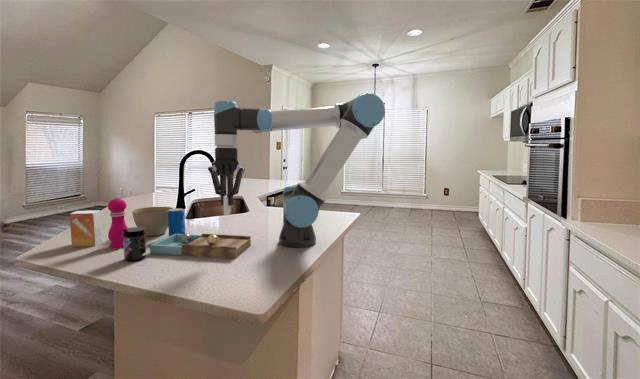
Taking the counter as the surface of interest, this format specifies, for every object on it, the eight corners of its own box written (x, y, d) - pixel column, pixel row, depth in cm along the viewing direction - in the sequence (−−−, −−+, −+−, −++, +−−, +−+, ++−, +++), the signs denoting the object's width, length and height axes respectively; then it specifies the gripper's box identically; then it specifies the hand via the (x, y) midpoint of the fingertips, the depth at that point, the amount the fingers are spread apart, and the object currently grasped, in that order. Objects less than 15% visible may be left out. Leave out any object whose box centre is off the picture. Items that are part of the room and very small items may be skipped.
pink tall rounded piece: (134, 245, 128) (131, 194, 125) (116, 250, 121) (113, 196, 119) (122, 242, 131) (119, 193, 128) (104, 247, 124) (100, 195, 122)
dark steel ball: (181, 235, 131) (187, 243, 131) (176, 238, 127) (181, 246, 127) (189, 230, 130) (194, 239, 130) (184, 233, 126) (189, 242, 126)
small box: (71, 247, 124) (68, 213, 122) (79, 242, 130) (77, 210, 128) (95, 246, 126) (93, 213, 124) (102, 241, 132) (100, 209, 130)
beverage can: (179, 239, 136) (178, 211, 135) (165, 238, 137) (164, 210, 136) (188, 235, 142) (187, 208, 141) (175, 234, 144) (174, 207, 142)
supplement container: (129, 256, 115) (127, 227, 114) (149, 255, 116) (147, 226, 115) (120, 262, 109) (118, 232, 107) (142, 261, 110) (140, 231, 108)
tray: (203, 242, 132) (203, 235, 132) (181, 255, 116) (181, 247, 116) (175, 241, 134) (175, 233, 133) (150, 253, 118) (149, 245, 117)
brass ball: (220, 244, 120) (220, 233, 120) (215, 247, 116) (215, 236, 116) (210, 243, 121) (210, 233, 120) (205, 247, 117) (204, 236, 116)
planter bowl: (181, 232, 148) (180, 208, 146) (146, 240, 134) (145, 214, 133) (161, 227, 156) (160, 204, 155) (126, 234, 143) (124, 210, 141)
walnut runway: (250, 245, 129) (250, 236, 128) (235, 258, 114) (235, 247, 113) (202, 243, 131) (202, 233, 131) (182, 255, 117) (181, 244, 116)
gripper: (248, 147, 116) (248, 213, 119) (213, 146, 118) (214, 211, 121) (240, 147, 108) (240, 217, 111) (203, 146, 110) (204, 215, 113)
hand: (227, 214), depth 116 cm, fingers closed
